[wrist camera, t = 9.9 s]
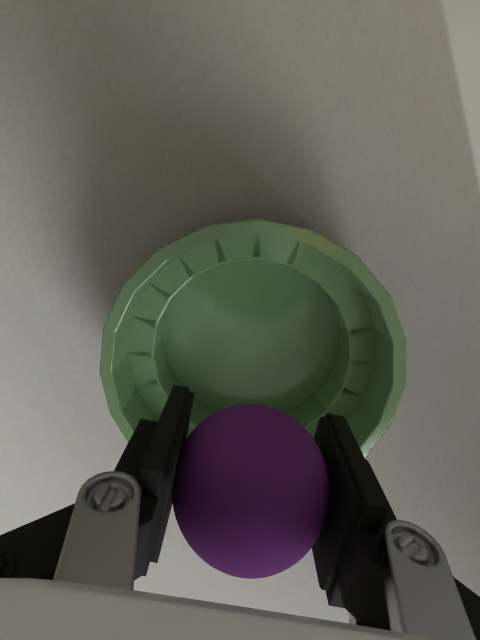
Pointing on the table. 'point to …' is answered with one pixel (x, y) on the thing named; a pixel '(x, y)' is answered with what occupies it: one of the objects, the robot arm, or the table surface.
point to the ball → (250, 491)
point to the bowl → (255, 331)
